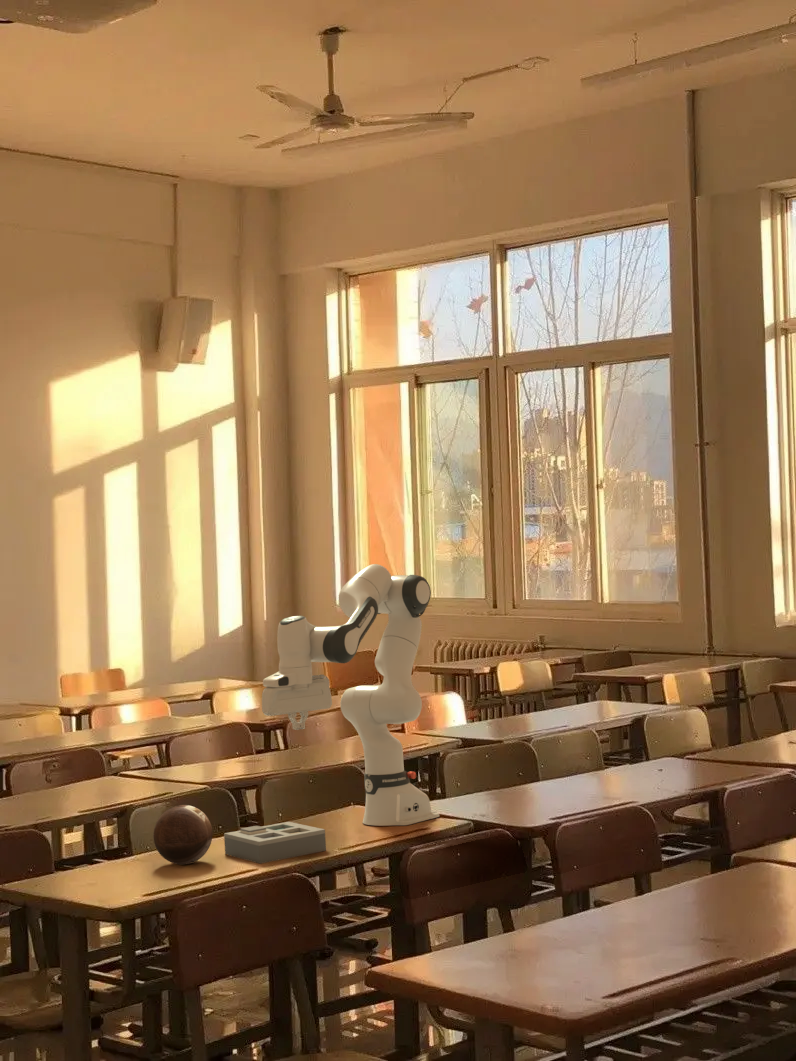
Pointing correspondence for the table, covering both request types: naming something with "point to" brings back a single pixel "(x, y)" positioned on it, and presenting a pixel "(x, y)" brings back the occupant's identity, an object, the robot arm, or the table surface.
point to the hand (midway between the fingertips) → (298, 729)
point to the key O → (252, 830)
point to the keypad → (276, 842)
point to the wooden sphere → (182, 834)
